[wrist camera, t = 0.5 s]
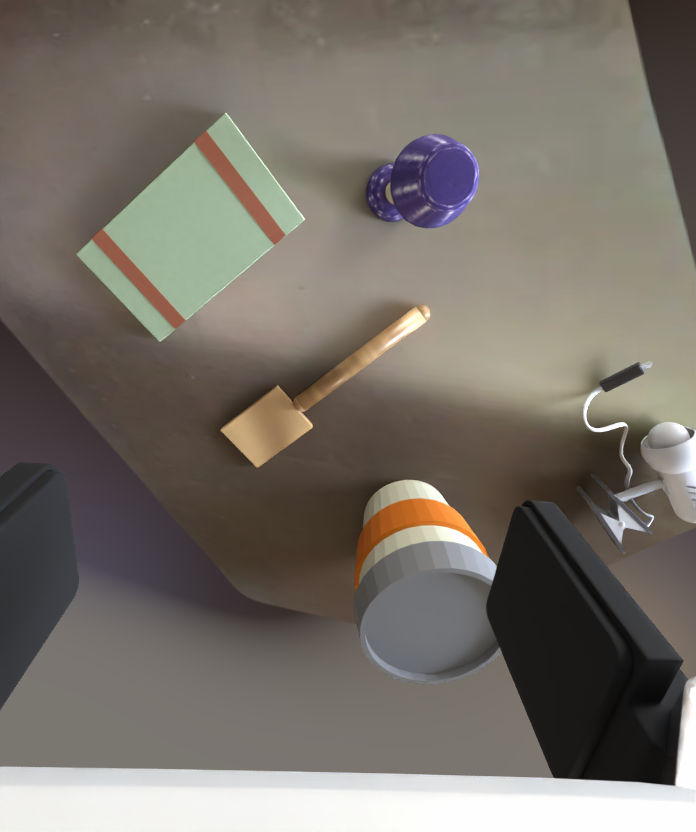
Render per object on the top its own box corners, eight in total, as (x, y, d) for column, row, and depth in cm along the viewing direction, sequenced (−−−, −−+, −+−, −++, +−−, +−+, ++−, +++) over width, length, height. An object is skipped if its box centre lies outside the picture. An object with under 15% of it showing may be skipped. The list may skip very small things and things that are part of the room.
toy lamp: (415, 151, 37) (482, 103, 21) (432, 212, 39) (506, 208, 23) (358, 176, 37) (383, 146, 22) (377, 234, 39) (413, 245, 24)
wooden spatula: (258, 464, 47) (255, 472, 45) (221, 427, 45) (218, 434, 44) (442, 329, 42) (446, 333, 41) (410, 282, 41) (413, 285, 39)
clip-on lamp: (533, 395, 49) (598, 541, 51) (550, 408, 42) (623, 573, 45) (651, 343, 46) (712, 501, 48) (687, 350, 40) (755, 530, 42)
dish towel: (83, 252, 38) (74, 254, 37) (228, 115, 35) (224, 111, 34) (164, 338, 41) (159, 342, 40) (305, 219, 38) (304, 219, 37)
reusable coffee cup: (340, 471, 47) (348, 575, 34) (464, 457, 48) (522, 555, 34) (352, 569, 52) (362, 694, 39) (464, 556, 52) (514, 677, 39)
